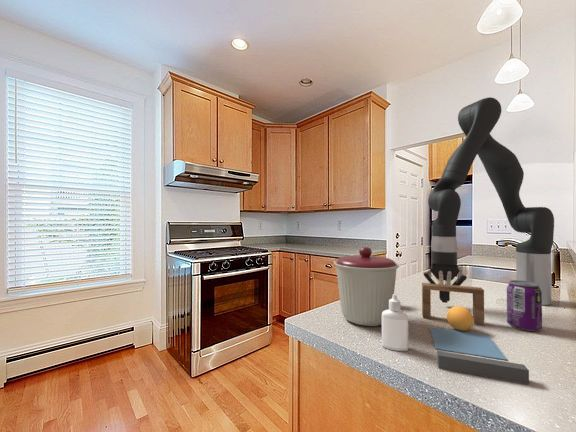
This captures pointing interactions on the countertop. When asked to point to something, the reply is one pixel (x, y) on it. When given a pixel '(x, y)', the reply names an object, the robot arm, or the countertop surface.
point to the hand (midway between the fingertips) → (444, 301)
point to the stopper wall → (483, 367)
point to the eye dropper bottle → (394, 327)
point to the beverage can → (524, 305)
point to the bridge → (477, 291)
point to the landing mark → (465, 343)
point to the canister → (365, 286)
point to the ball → (460, 318)
